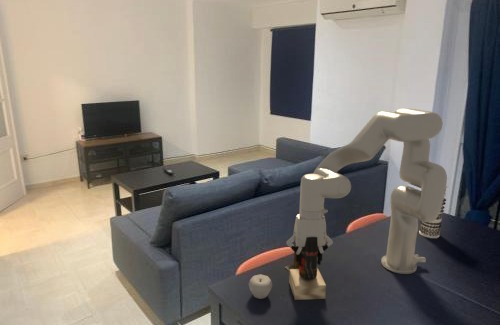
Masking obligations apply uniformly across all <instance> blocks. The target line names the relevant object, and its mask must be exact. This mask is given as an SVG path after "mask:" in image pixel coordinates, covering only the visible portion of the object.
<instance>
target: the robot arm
mask: <svg viewBox="0 0 500 325" xmlns="http://www.w3.org/2000/svg"><path fill="white" fill-rule="evenodd" d="M443 124H444V123H443V118H442V117H441V116H440V115H439V114H438V113H437V112H434V111H428V110H421V109H415V108H406V107H405V108H403V107H402V108H398V109H396V110H395V111H394V112H392V111H387V110H386V111H378V112H377V113H375V115H373V116H372V117H371V119H370V120H369V121H368V122H367V123H366V124H365V125H364V127H363V128H362V129H361V130H360V131H359V132H358V134H357V135H356V136H355V137H354V138H353V139H352V141H350V142H349V143H347V144H345V145H343V146H341V147H339V148H337V149H336V150H334V151H331V152H330V153H329V154H328V155H326V156H325V157H324V158H323V160H322V161H320V162H319V164H318V166H316V168H315V169H314V171H313V173H307V174H304V175H303V176H302V177H301V178H300V192H299V193H300V194H299V211H298V212H299V213H298V214H297V215H296V216H295V222H294V225H293V226H294V227H293V235H291V236H290V238H289V239H287V240H286V241H285V243H286V246H288V247H289V248H290V249H291V250H292V251H293V252H295V253H296V257H295V260H296V262H297V263H298V265H299V266H300V265H301V253H300V252H301V250H302V247H304V246H305V242H306V237H317V242H318V248H319V249H318V265H317V266H320V265H321V263H322V261H323V254H324V253H325V251H326V250H327V249H328V248H329V247H331V245H333V244H334V242H333V240H332V239H331V237H329V236H328V235H327V224H326V217H325V214H328V211H329V210H328V208H325V207H324V206H325V199H341V198H344V197H346V196H347V195H349V194H350V192H351V190H352V184H351V181H350V179H349V178H348V177H347V176H345V175H343V174H341V173H338V172H339V171H340V170H341V169H343V168H344V167H346V166H348V165H351V164H357V163H362V162H367V161H370V160H372V159H373V158H374V157H375V156H376V155H378V152H379V151H380V150H382V149H381V148H383V147H384V145H385V144H386V143H387V142H388V141H389V140H390V141H391V140H392V141H396V142H401V143H403V147H402V155H401V160H400V166H399V178H400V180H401V181H403V182H404V183H406V184H409V185H411V186H409V185H403V184H402V185H398V186H396V187H395V188H394V189H392V191H391V194H390V198H389V199H390V200H389V201H390V202H389V203H390V221H389V222H390V223H389V230H388V239H387V246H386V254H385V255H383V256H382V257H381V260H380V261H381V265H382V266H383V267H384V268H386V270H389V271H390V272H393V273H395V274H401V275H409V274H413V273H415V272H416V271H417V268H418V266H417V264H418V263H426V262H427V259H426V257H424V256H420V255H419V254H415V251H416V244H417V237H418V236H417V235H418V232H419V221H424V222H432V221H434V220H435V219H436V218H437V217H438V215H439V213H440V211H441V207H442V203H443V198H445V197H444V193H446V191H445V188H446V186H447V183H448V182H447V181H448V174H447V172H446V169H445V168H444V167H443V166H442V165H440V164H438V163H436V162H432V161H430V160H429V159H430V151H431V140H430V139H433V138H435V137H436V136H438V134H440V132H441V131H442V129H443ZM412 186H414V187H416V188H414V187H412ZM417 188H419V189H417ZM420 189H421V190H420ZM446 189H447V188H446ZM294 242H295V244H293V243H294ZM295 245H296V246H295Z"/></svg>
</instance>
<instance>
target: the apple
mask: <svg viewBox="0 0 500 325" xmlns="http://www.w3.org/2000/svg"><path fill="white" fill-rule="evenodd" d="M248 287H249V290H250V292H251V294H252V295H253V297H254V298H256V299H258V300H259V299H260V300H262V299H265V298H267V297H268V295H269V293H270V292H271V290H272V287H273V283H272V279H271V278H270V277H269V276H268V275H264V274H261V273H260V274H256V275H253V276H252V277H251V278H250V279H249V281H248Z"/></svg>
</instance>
